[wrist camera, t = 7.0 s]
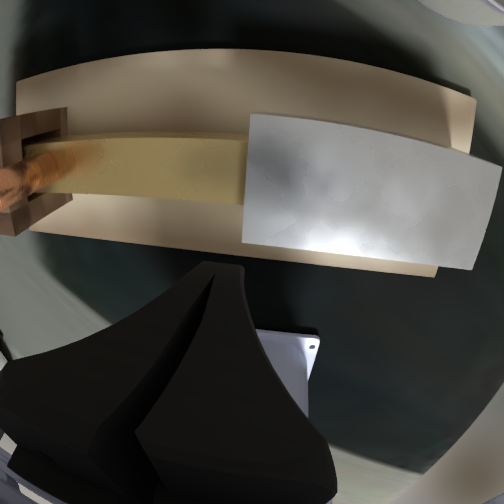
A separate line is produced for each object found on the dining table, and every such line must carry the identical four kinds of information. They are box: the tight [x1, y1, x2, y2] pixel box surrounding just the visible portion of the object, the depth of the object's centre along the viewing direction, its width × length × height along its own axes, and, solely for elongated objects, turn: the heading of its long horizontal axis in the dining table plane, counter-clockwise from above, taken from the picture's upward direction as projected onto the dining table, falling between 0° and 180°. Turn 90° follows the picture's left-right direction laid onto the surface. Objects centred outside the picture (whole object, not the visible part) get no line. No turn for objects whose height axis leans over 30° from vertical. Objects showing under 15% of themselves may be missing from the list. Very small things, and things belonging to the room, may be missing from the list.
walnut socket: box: [0, 107, 73, 236], centre depth 16 cm, size 7×5×6 cm
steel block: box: [242, 111, 502, 270], centre depth 15 cm, size 6×12×6 cm, turn 86°
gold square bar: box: [0, 131, 249, 211], centre depth 13 cm, size 3×19×8 cm, turn 86°
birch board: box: [16, 49, 477, 277], centre depth 18 cm, size 13×33×1 cm, turn 86°
